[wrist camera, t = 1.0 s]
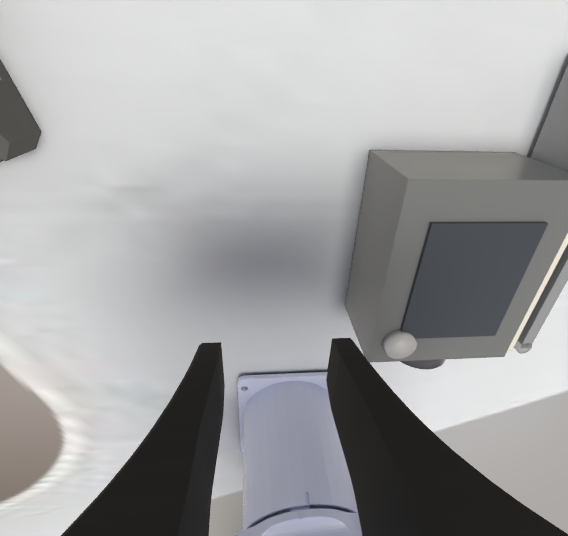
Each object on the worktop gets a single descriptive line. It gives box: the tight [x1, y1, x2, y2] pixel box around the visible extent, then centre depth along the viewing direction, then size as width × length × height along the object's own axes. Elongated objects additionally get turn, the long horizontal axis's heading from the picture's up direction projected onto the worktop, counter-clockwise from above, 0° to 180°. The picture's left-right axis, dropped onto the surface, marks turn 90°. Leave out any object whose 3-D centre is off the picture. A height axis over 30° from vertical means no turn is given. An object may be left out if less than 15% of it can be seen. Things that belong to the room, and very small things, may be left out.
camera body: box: [345, 150, 568, 369], centre depth 18 cm, size 11×8×6 cm
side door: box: [514, 65, 568, 353], centre depth 17 cm, size 14×1×5 cm, turn 178°
